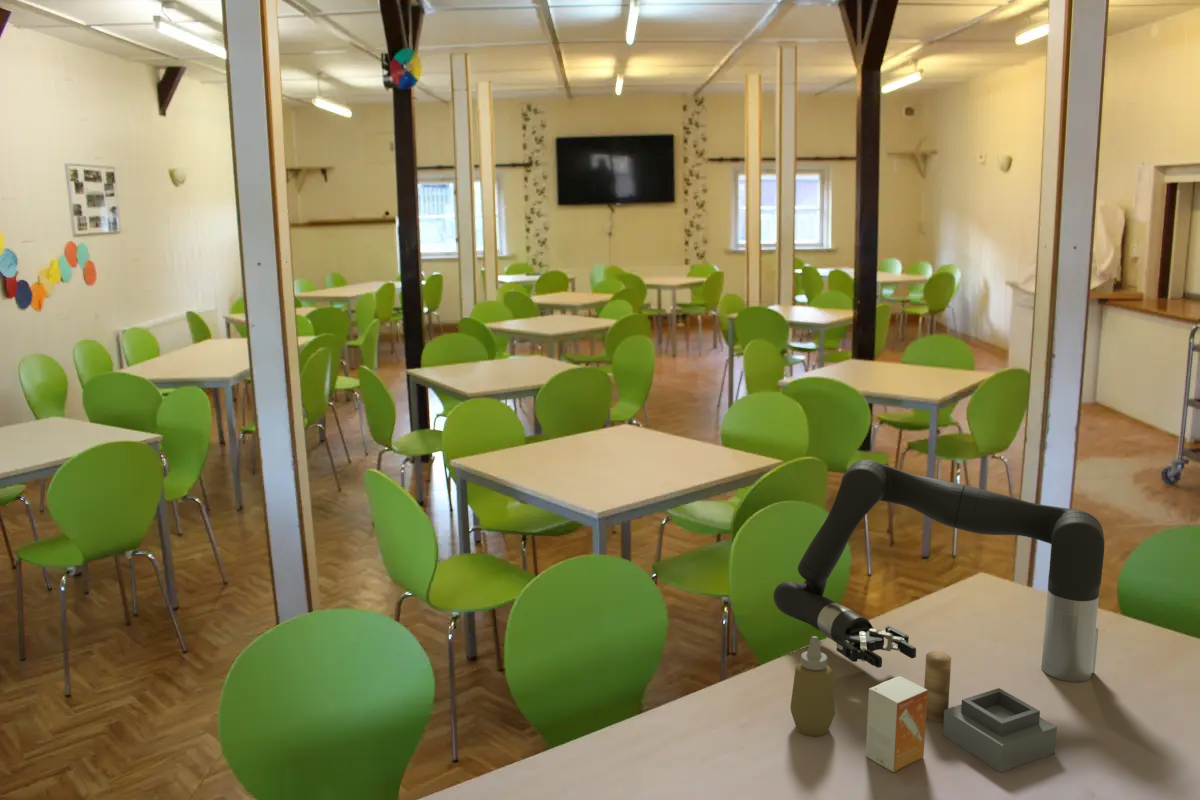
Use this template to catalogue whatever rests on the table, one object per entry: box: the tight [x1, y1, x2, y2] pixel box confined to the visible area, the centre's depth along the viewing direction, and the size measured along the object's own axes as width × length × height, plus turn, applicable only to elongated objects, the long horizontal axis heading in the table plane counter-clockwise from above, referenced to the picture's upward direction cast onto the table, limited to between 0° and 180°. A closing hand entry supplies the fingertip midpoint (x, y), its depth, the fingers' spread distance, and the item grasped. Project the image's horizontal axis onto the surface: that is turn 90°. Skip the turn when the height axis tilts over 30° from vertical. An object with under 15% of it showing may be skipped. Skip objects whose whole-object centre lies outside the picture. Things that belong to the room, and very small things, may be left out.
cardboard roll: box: [923, 651, 952, 723], centre depth 178 cm, size 4×4×12 cm
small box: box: [865, 675, 928, 773], centre depth 165 cm, size 8×6×13 cm
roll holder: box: [942, 687, 1058, 773], centre depth 169 cm, size 13×13×8 cm
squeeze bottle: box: [790, 635, 836, 737], centre depth 174 cm, size 8×8×18 cm
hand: (897, 658), depth 187 cm, fingers open, 8 cm apart
